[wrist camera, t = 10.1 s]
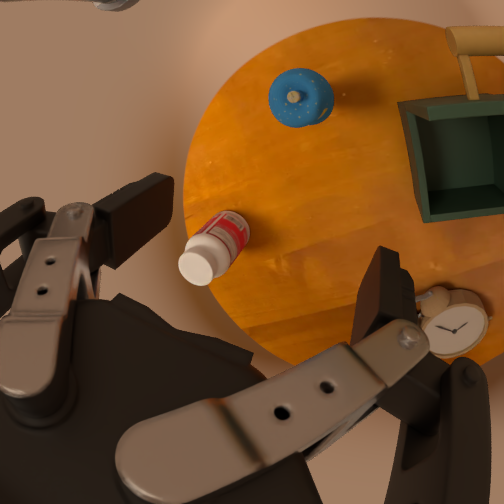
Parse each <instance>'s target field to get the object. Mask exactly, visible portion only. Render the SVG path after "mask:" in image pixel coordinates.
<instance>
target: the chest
mask: <svg viewBox="0 0 504 504" xmlns="http://www.w3.org/2000/svg"><path fill="white" fill-rule="evenodd" d="M479 95H493V94H487V93H485V94H479ZM462 96H467V95H456V96H445V97H435V98H426V99H418V100H410V101H403V102H397V103H398V108H399V112H400V116H401V120H402V125H403V130H404V134H405V139H406V144H407V150H408V155H409V161H410V167H411V173H412V179H413V186H414V194H415V198H416V201H417V204H418V207H419V210H420V214H421V217H422V220H423V223H429V222H438V221H446V220H455V219H463V218H471V217H480V216H489V215H497V214H504V115H493V116H478V117H465V118H454V119H445V120H435V121H429V120H426V119H424V118H422V117H419V116H417V115H414V114H412V113H410V112H407V111H406V108H405V104H404V103H407V102H414V101H422V100H431V99H440V98H450V97H462Z"/></svg>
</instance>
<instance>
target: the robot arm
mask: <svg viewBox="0 0 504 504" xmlns="http://www.w3.org/2000/svg"><path fill="white" fill-rule="evenodd" d="M14 1H34V0H0V2H14ZM68 1H89V2H99V3H105V4H110V3H114V2H116V1H118V0H68ZM173 195H174V179H173V178H172V177H171V176H167V175H163V174H160V173H156V172H155V173H152V174H150V175H148V176H147V177H145V178H143V179H141V180H139V181H137V182H133V183H129V184H128V185H126V186H124V187H122V188H120V190H119V189H118V190H117V191H115V192H114V193H113V194H110V195H108V196H106V197H105V198H103V199H101V200H99V201H98V202H96V203H94V204H93V205H90V204H88V203H83V202H76V203H71V204H68V205H65V206H63V207H61V208H60V209H59V210H58V211H57V213H56V212H48V211H46V210H45V204H44V200H43V199H42V198H40V197H28V198H25V199H22V200H20V201H18V202H16V203H15V204H13V205H11V206H10V207H8V208H7V209H5V210H3V211H2V212H0V254H1V252H2V250H3V249H4V248H6V247H7V246H8V245H10V244H11V243H12V242H14V241H15V240H16V239H19V244H20V248H21V251H22V255H21V256H20V257H19V258H18V259H17V260H15V261H14V262H13V263H12V264H10V265H9V266H8V267H7V268H5V270H2V267H1V265H0V318H1V317H2V316H3V315H4V314H5V313H6V312H7V311H8V310H9V309H10V308H11V310H10V313H9V314H8V315H6V316H4V317H2V319H1V320H0V504H323V503H322V501H321V498H320V495H319V493H318V491H317V488H316V486H315V483H314V481H313V479H312V476H311V473H310V471H309V468H308V466H307V462H308V461H310V460H311V459H313V458H314V457H316V456H317V455H318V454H320V453H321V452H323V451H324V450H326V449H327V448H328V447H329V446H331V445H332V444H333V443H334V442H336V441H337V440H338V439H340V438H341V437H342V436H343V435H345V434H346V433H347V432H349V431H350V430H351V429H353V428H354V427H356V426H357V425H358V424H359V423H360V422H362V421H363V420H365V419H366V418H367V417H368V416H370V415H371V414H372V413H373V412H374V411H376V410H377V409H378V408H379V407H381V408H382V409H384V410H386V411H387V412H389V413H390V414H392V415H393V416H395V417H396V418H398V419H400V420H401V423H400V430H399V435H398V441H397V447H396V452H395V457H394V463H393V468H392V472H391V477H390V481H389V486H388V490H387V494H386V498H385V502H384V504H489V496H490V483H491V420H490V405H489V394H488V384H487V379H486V376H485V374H484V372H483V370H482V369H481V367H480V366H479V365H478V364H477V363H476V362H474V361H473V360H471V359H469V358H466V357H459V358H457V359H455V360H454V361H453V362H452V364H451V365H449V364H448V363H446V362H444V361H443V360H441V359H440V358H438V357H437V356H435V355H434V354H432V353H431V352H430V351H429V350H430V342H429V339H428V336H427V335H426V333H425V332H424V331H423V330H422V329H421V328H420V327H419V326H418V321H417V309H416V301H415V293H414V291H415V290H414V281H413V279H412V278H411V276H410V274H409V273H408V271H407V270H404V269H402V268H400V260H399V253H398V252H396V251H393V250H390V249H388V248H385V247H382V246H378V248H377V250H376V252H375V254H374V256H373V258H372V261H371V263H370V265H369V267H368V269H367V272H366V274H365V276H364V278H363V280H362V282H361V285H360V288H359V291H358V295H357V302H356V309H355V316H354V323H353V329H352V335H351V341H350V346H349V345H348V344H347V343H346V342H340V343H338V344H336V345H334V346H332V347H330V348H328V349H327V350H325V351H323V352H321V353H319V354H317V355H315V356H313V357H311V358H310V359H308V360H306V361H304V362H302V363H300V364H298V365H296V366H294V367H292V368H290V369H288V370H286V371H284V372H281V373H279V374H277V375H275V376H273V377H271V378H269V379H267V378H266V377H265V376H264V375H263V374H262V373H261V372H260V371H259V370H257V369H256V368H255V367H253V366H252V365H251V364H250V363H251V360H252V356H253V354H254V353H253V352H250V351H248V350H245V349H242V348H240V347H238V346H235V345H233V344H230V343H228V342H225V341H223V340H221V339H218V338H214V337H210V336H205V335H200V334H195V333H190V332H186V331H182V330H178V329H175V328H174V327H172V326H171V325H170V324H168V323H167V322H166V321H164V320H163V319H162V318H161V317H160V316H158V315H157V314H156V313H155V312H153V311H152V310H151V309H150V308H149V307H147V306H145V305H143V304H141V303H139V302H137V301H135V300H133V299H131V298H129V297H127V296H125V295H123V294H121V293H119V294H117V296H116V297H114V298H113V300H111V301H109V300H102V299H99V291H100V280H101V269H100V266H102V265H103V264H104V265H106V266H109V267H110V268H112V269H114V270H116V268H118V267H119V266H120V265H121V264H122V263H124V262H125V261H126V260H127V259H128V258H130V257H131V256H132V255H133V254H134V253H135V252H136V251H138V250H139V249H140V248H141V247H142V246H144V245H145V244H146V243H147V242H149V241H150V240H151V239H152V238H153V237H154V236H156V235H157V234H158V233H159V232H161V231H162V230H163V229H164V228H165V227H167V225H168V224H169V222H170V220H171V217H172V212H173Z"/></svg>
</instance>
